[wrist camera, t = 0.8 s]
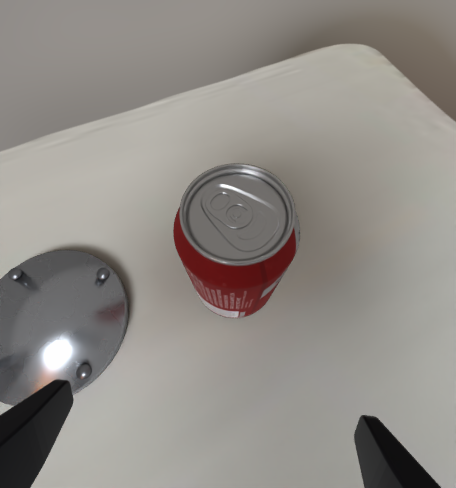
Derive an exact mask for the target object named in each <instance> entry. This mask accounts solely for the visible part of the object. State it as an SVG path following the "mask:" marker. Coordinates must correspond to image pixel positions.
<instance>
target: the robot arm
mask: <svg viewBox="0 0 456 488" xmlns="http://www.w3.org/2000/svg"><path fill="white" fill-rule="evenodd" d="M72 404H73V394H72V389H71V384H70V382H69V381H68V380H62V379H56V380H53V381H52V382H50V383H49V384H47V385H46V386H44V387H43V388H41V389H39V390H38V391H36V392H35V393H33V394H32V395H30V396H29V397H27V398H26V399H24V400H23V401H21V402H20V403H18V404H17V405H15V406H14V407H12V408H11V409H9V410H8V411H6V412H4V413H3V414H1V415H0V488H30V487H31V485H32V484H33V482H34V480H35V479H36V477H37V475H38V474H39V472H40V470H41V468H42V466H43V465H44V463H45V461H46V459H47V457H48V455H49V453H50V451H51V449H52V447H53V445H54V443H55V441H56V439H57V436H58V434H59V432H60V430H61V428H62V426H63V424H64V422H65V420H66V418H67V416H68V414H69V412H70V409H71V407H72ZM354 440H355V445H356V450H357V455H358V459H359V464H360V469H361V473H362V478H363V483H364V487H365V488H441V487H440V486H439V485H438V484H437V482H436V481H435V480H434V479H433V478H432V477H431V476H430V475H429V474H428V473H427V472H426V470H425V469H424V468H423V467H422V466H421V465H420V464H419V463H418V462H417V461H416V460H415V458H414V457H413V456H412V455H411V454H410V453H409V452H408V451H407V450H406V449H405V448H404V446H403V445H402V444H401V443H400V442H399V441H398V440H397V439H396V438H395V437H394V436H393V434H392V433H391V432H390V431H389V430H388V429H387V428H386V427H385V426H384V425H383V423H382V422H381V421H380V420H379V419H378V418H376V417H374V416H367V415H362V416H361V417H360V419H359V422H358V424H357V427H356V430H355V434H354Z"/></svg>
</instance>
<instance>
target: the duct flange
mask: <svg viewBox="0 0 456 488" xmlns="http://www.w3.org/2000/svg"><path fill="white" fill-rule="evenodd" d="M128 313H129V309H128V299H127V294H126V291H125V288H124V285H123V283H122V281H121V280H120V278H119V277H118V275H117V274H116V273H115V272H114V271H113V270H112V269H111V268H110V267H109V266H108V265H107V264H106V263H104V262H103V261H101V260H100V259H99V258H97V257H95V256H93V255H91V254H88V253H85V252H80V251H75V250H59V251H53V252H48V253H44V254H41V255H38V256H35V257H33V258H31V259H29V260H27V261H25V262H23V263H21V264H20V265H18V266H17V267H15V268H13V269H11V270H10V271H9V272H8V273H7V274H6V275H5V276H4V277H3V278H1V279H0V401H1V402H3V403H5V404H9V405H13V406H15V405H17V404H18V403H20V402H21V401H23V400H24V399H26V398H27V397H29V396H30V395H32V394H33V393H35V392H36V391H38V390H39V389H41V388H43V387H44V386H46V385H47V384H49V383H50V382H52V381H53V380H56V379H62V380H68V381H69V382H70V384H71V389H72V394H73V395H74V394H76V393H78V392H79V391H81V390H82V389H84V388H85V387H87V386H88V385H89V384H91V383H92V382H93V381H94V380H95V379H97V377H98V376H99V375H100V374H101V373H102V372H103V371H104V370H105V369H106V368H107V366H108V365H109V364H110V363H111V361H112V360H113V358H114V356H115V355H116V353H117V352H118V350H119V347H120V345H121V343H122V341H123V338H124V335H125V332H126V328H127V323H128Z"/></svg>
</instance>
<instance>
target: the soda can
mask: <svg viewBox="0 0 456 488" xmlns="http://www.w3.org/2000/svg"><path fill="white" fill-rule="evenodd" d="M173 232H174V242H175V246H176V249H177V252H178V254H179V256H180V258H181V261H182V263H183V265H184V267H185V269H186V271H187V273H188V275H189V277H190V279H191V281H192V283H193V285H194V288H195V290H196V292H197V294H198V296H199V298H200V299H201V301H202V302H203V303H204V305H205V306H206V307H207V308H208V309H210V310H211V311H212V312H214V313H216V314H218V315H220V316H224V317H228V318H242V317H246V316H249V315H251V314H253V313H255V312H257V311H258V310H260V309H261V308H262V307H263V306H264V305H265V304H266V302H267V301H268V299H269V298H270V296H271V294H272V293H273V291H274V289H275V288H276V286H277V285H278V283H279V281H280V280H281V278H282V276H283V275H284V273H285V271H286V270H287V268H288V266H289V265H290V263H291V261H292V260H293V258H294V256H295V254H296V251H297V248H298V245H299V240H300V226H299V220H298V216H297V214H296V211H295V205H294V201H293V198H292V196H291V194H290V192H289V190H288V189H287V187H286V186H285V185H284V183H283V182H282V181H281V180H280V179H279V178H277V177H276V176H275V175H273V174H272V173H270V172H269V171H267V170H265V169H262V168H260V167H257V166H254V165H249V164H240V163H234V164H225V165H221V166H217V167H214V168H212V169H209V170H207V171H206V172H204V173H202V174H201V175H199V176H198V177H197V178H196V179H195V180H194V181H193V182H192V183H191V184H190V185H189V186H188V188H187V189H186V191H185V193H184V195H183V197H182V200H181V204H180V207H179V209H178V212H177V214H176V217H175V222H174V230H173Z"/></svg>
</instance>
